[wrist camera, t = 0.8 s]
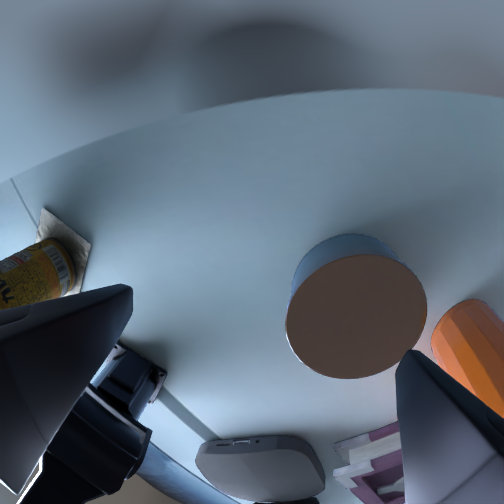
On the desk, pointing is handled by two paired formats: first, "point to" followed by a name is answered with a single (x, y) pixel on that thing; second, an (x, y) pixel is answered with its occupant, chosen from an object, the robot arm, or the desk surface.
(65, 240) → the condiment
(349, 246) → the jar
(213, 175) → the desk surface
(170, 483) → the desk surface
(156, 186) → the desk surface
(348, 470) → the book
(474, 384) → the cup
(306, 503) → the black blower fan
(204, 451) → the media streaming box
